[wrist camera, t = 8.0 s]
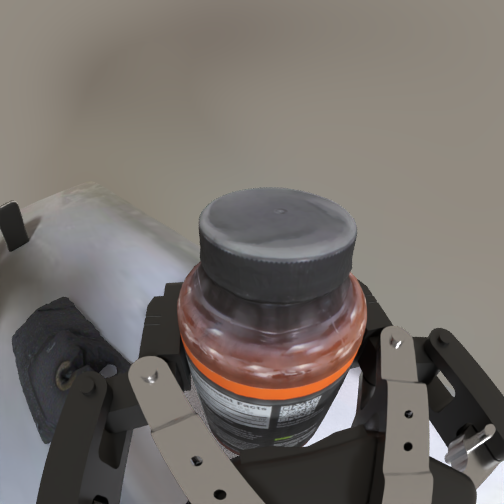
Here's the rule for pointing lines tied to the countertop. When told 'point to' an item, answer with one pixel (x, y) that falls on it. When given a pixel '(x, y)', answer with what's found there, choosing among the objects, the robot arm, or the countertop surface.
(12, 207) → the battery charger
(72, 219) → the countertop surface
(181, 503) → the countertop surface
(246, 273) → the supplement bottle
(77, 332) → the black pouch
